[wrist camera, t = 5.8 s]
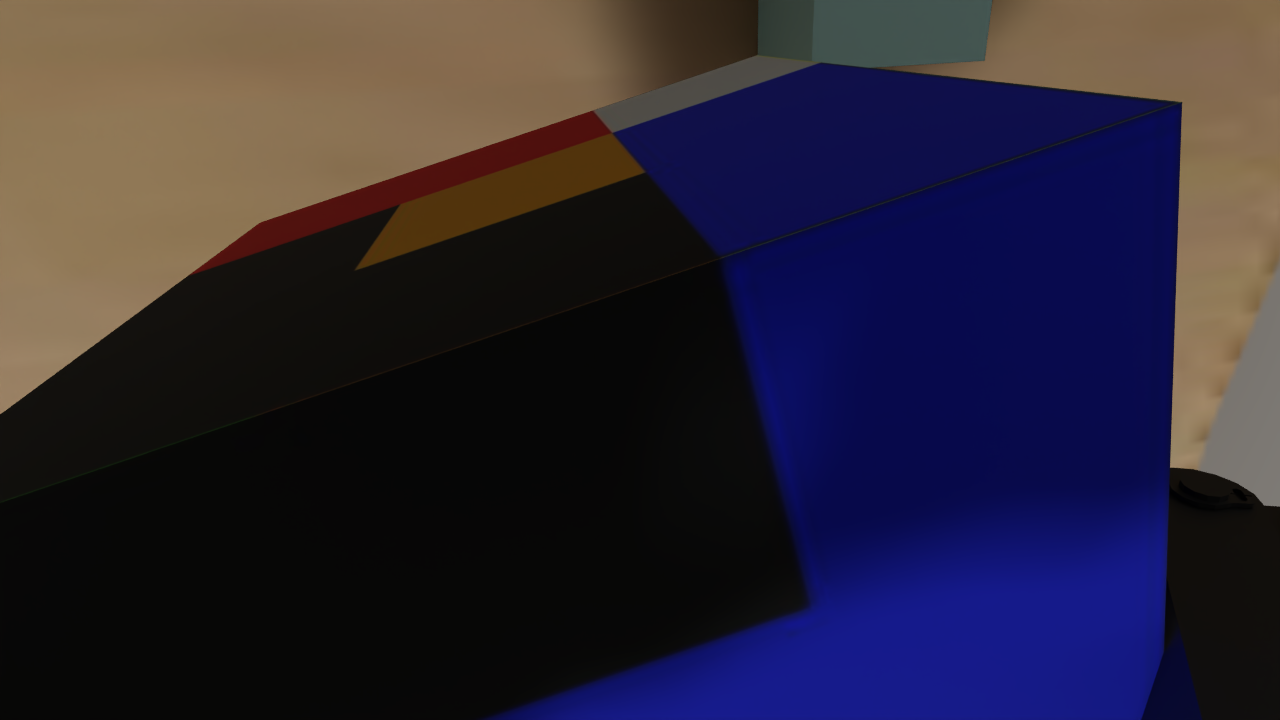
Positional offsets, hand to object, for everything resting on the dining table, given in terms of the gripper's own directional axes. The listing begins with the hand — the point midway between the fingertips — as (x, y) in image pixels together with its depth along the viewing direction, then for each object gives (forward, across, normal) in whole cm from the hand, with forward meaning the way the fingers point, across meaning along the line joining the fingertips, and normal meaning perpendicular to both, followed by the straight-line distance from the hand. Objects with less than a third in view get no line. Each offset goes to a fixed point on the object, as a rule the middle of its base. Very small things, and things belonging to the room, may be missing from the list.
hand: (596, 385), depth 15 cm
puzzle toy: (+1, 0, 0) cm, 1 cm away
